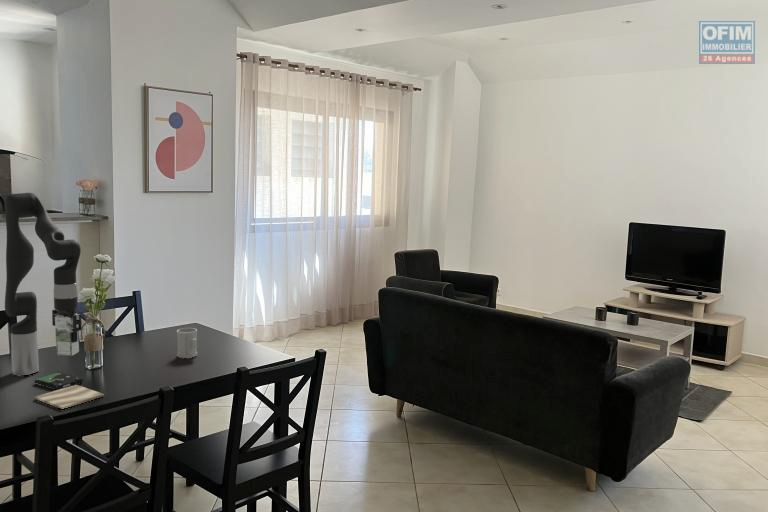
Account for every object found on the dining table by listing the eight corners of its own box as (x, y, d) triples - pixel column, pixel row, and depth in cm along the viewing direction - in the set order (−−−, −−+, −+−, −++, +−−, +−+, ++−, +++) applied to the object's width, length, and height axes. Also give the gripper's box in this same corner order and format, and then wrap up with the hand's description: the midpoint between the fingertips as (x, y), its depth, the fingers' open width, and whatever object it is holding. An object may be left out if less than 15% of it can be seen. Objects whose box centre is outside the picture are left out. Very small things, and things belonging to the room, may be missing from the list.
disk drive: (83, 384, 242) (58, 377, 248) (83, 377, 242) (57, 371, 248) (60, 392, 233) (33, 385, 239) (59, 385, 233) (33, 378, 239)
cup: (204, 353, 285) (203, 328, 283) (196, 359, 276) (195, 333, 274) (182, 352, 286) (181, 327, 284) (173, 358, 277) (173, 332, 275)
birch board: (34, 399, 223) (34, 396, 223) (76, 387, 237) (76, 384, 237) (62, 410, 215) (61, 407, 214) (104, 397, 228) (103, 394, 228)
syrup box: (79, 351, 227) (78, 312, 225) (72, 356, 221) (70, 316, 219) (63, 351, 226) (62, 312, 224) (55, 356, 221) (54, 316, 219)
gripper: (43, 294, 221) (45, 339, 223) (67, 300, 214) (69, 345, 216) (64, 291, 228) (65, 334, 230) (87, 296, 220) (89, 341, 222)
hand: (67, 340), depth 223 cm, fingers closed on syrup box, 8 cm apart
